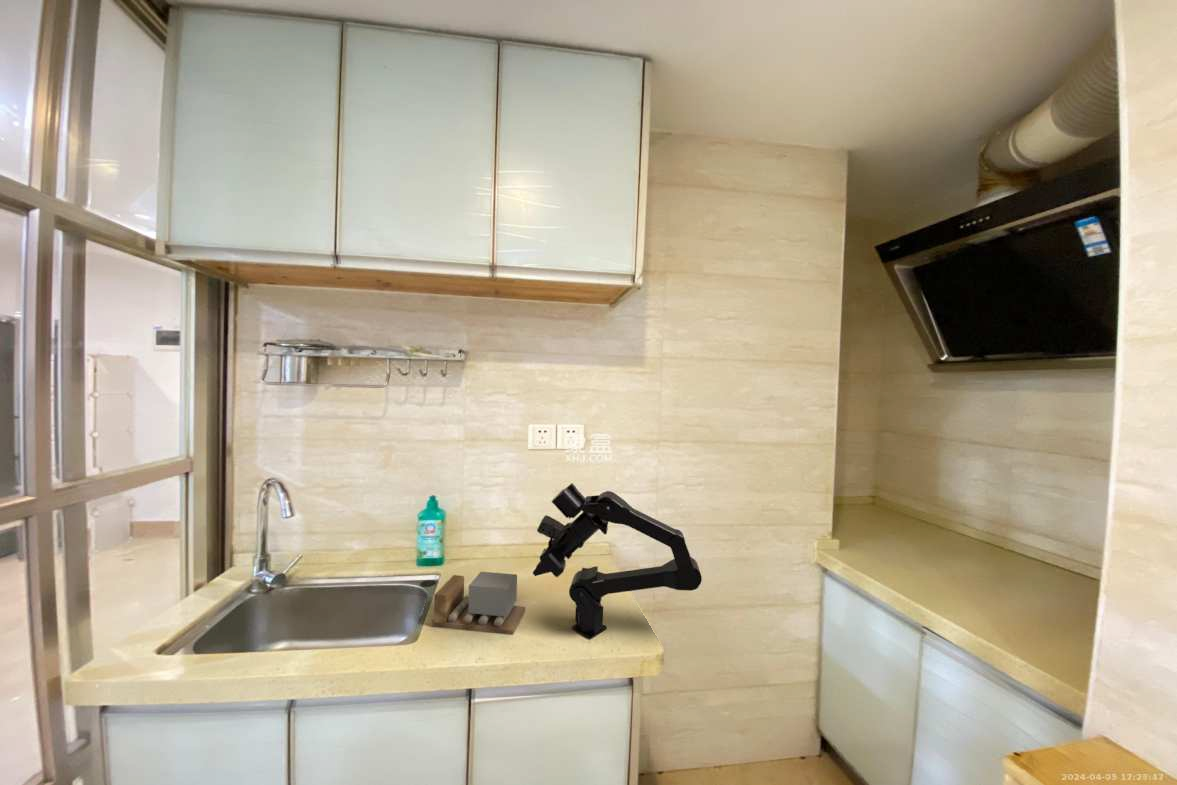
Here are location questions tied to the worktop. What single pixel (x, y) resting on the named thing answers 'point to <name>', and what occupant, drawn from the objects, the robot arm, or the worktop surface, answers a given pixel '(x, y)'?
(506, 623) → the roller bed
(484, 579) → the gray rectangular block
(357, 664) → the worktop surface
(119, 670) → the worktop surface
